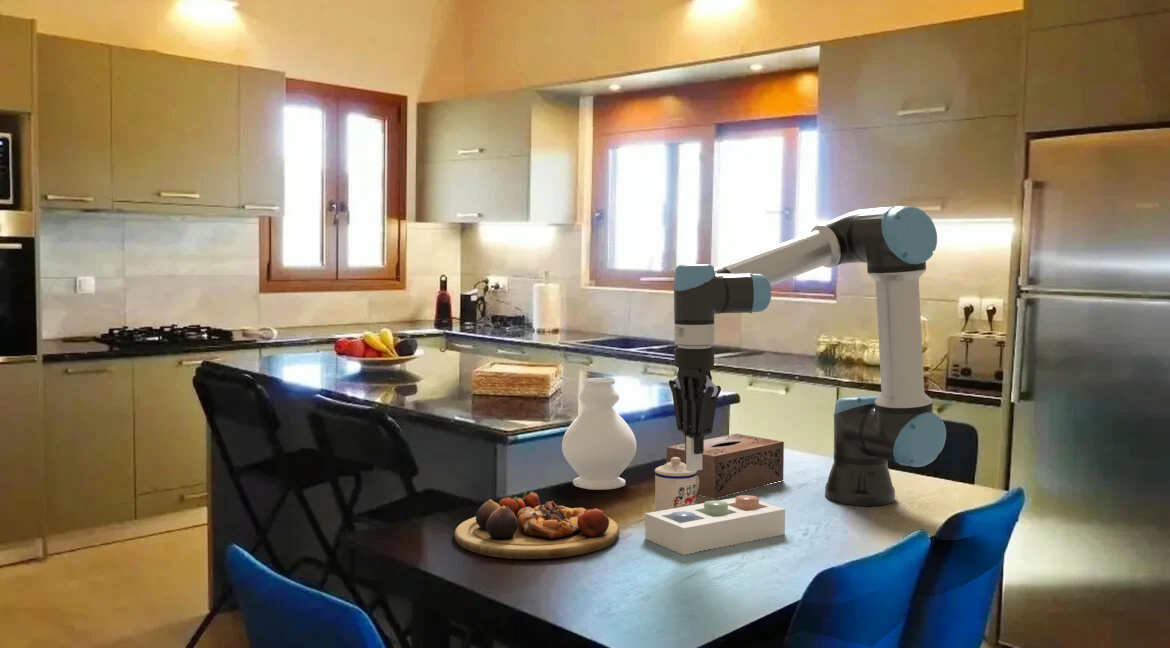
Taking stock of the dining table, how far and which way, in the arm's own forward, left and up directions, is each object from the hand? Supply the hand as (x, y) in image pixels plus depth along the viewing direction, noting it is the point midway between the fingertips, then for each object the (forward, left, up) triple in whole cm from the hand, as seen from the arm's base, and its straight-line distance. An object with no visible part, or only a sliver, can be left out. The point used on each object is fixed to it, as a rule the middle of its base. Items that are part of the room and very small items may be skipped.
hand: (694, 469), depth 184 cm
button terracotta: (-13, 0, -11) cm, 18 cm away
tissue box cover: (-35, -32, -14) cm, 50 cm away
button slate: (+3, 0, -12) cm, 13 cm away
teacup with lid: (-11, -19, -14) cm, 26 cm away
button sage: (-5, 0, -11) cm, 13 cm away
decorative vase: (-10, -49, -14) cm, 52 cm away
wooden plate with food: (+24, -19, -15) cm, 33 cm away
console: (-5, 0, -14) cm, 15 cm away
